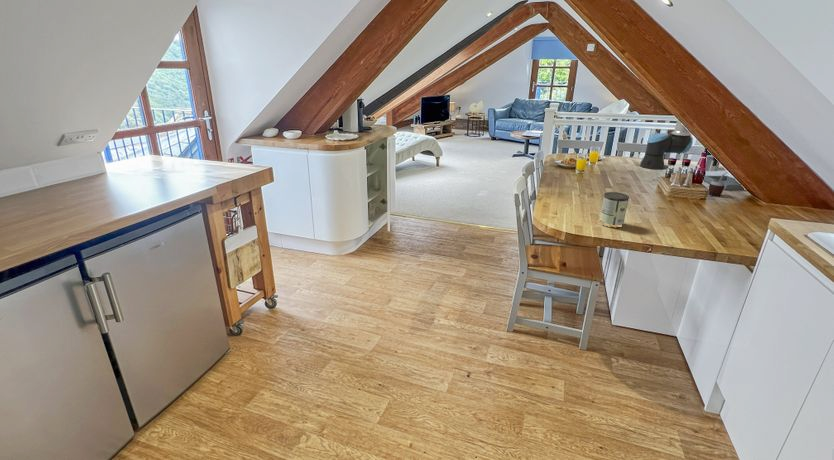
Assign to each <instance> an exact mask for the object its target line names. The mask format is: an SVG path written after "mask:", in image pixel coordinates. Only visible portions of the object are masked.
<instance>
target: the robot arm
mask: <svg viewBox="0 0 834 460" xmlns="http://www.w3.org/2000/svg"><path fill="white" fill-rule="evenodd" d="M691 135H692V134H691V133H690V130H689V131H688V130H687V129H686V128H685V127H684V126H683V125H682V124H681V123H680V122H679V121H678V120H677V119H676V123H675V126H674V130H673V131H672V132H671V133H670V135H669V133H665V132H664V133H663V132H660V133H658V132H657V133H651V134H650V135H649V136H648V139H647V144H646V148H645V154H644V156H643V158H642V159H641V161H640V163H639V166H640V168H644V169H649V170H663V169H664V168H665V160H664V159H665V158H664V156H665V153H666V154H686V153H687V152H689V151H690V150H691V148H692V145H693V141H694V140H693V137H692V136H691ZM704 152H706V153H707V155H712V154H710V153H709V152H708V151H707V149H706V148H704ZM704 152H703V153H704ZM717 162H718V161H717V160H716V159H715V158H713V160H712V162H711V165H710V169H709V171H708V172H715V171H714V170H715V167H716V165H717Z"/></svg>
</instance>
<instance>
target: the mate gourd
mask: <svg viewBox="0 0 834 460" xmlns="http://www.w3.org/2000/svg"><path fill="white" fill-rule="evenodd" d="M727 173H728V171H726V172H724V173H723V174H722V175H721V176H722V177H723V176H726V174H727ZM722 177H721V178H720V180H719V181H712V182H711V183H710V184H709V185H708V193H707V195H709V196H710V197H717V198H721V196H722V194H723V192H724V191H725V190H724V186H725V184H724V182H722V181H721V179H722Z"/></svg>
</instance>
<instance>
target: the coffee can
mask: <svg viewBox="0 0 834 460" xmlns="http://www.w3.org/2000/svg"><path fill="white" fill-rule="evenodd" d="M629 199H630V196H629V195H628V194H625V193H622V192H617V191H610V192H609V191H608V192H605V193H604V194H603V200H602V207H601V213H600V217H599V221H600V220H601V221H603V222H604V223H607V224H613V225H622V224H623V225H624V223H625V218H626V213H627V208H628V203H629Z"/></svg>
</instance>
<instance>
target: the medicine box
mask: <svg viewBox="0 0 834 460" xmlns="http://www.w3.org/2000/svg"><path fill="white" fill-rule="evenodd" d="M712 155H713V154H711V155H707V157H706V170H705V171H704V172H710V171H709V169H710V165H711V162H712V160H713V158H714V157H713V156H712ZM720 164H721V162H720V163H719V162H717V165H716V167H715V170H714V171H713V172H718V170H719V166H720Z"/></svg>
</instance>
